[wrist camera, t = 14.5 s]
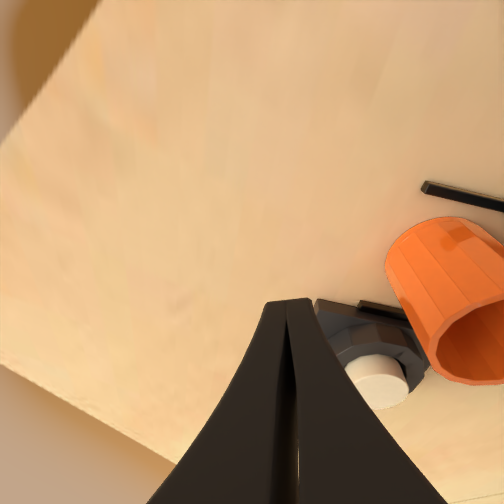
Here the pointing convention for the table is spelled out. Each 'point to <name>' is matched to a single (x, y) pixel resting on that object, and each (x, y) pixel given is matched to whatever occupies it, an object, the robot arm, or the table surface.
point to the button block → (372, 338)
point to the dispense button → (378, 380)
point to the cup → (453, 296)
